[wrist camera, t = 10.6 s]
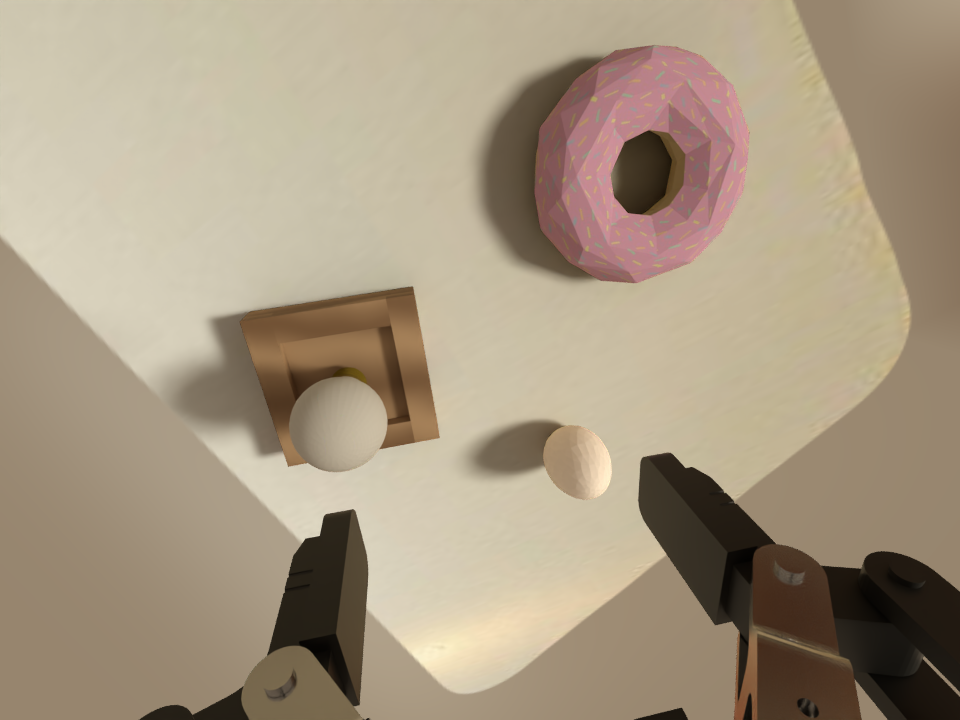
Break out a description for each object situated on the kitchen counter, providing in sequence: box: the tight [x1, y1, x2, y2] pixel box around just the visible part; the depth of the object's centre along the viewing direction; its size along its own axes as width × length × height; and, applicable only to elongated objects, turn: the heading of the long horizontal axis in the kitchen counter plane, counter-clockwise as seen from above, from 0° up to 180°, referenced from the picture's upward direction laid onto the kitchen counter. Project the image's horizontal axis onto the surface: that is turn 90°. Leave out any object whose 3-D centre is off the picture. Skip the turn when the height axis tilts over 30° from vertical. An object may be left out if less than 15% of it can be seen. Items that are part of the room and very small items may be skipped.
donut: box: [534, 45, 749, 283], centre depth 33 cm, size 16×15×5 cm
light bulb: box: [289, 367, 387, 472], centre depth 31 cm, size 6×6×10 cm
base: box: [240, 287, 440, 467], centre depth 36 cm, size 12×12×2 cm
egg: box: [543, 425, 611, 500], centre depth 39 cm, size 5×5×8 cm
